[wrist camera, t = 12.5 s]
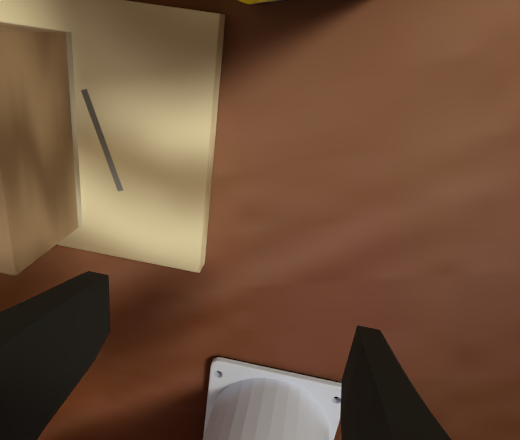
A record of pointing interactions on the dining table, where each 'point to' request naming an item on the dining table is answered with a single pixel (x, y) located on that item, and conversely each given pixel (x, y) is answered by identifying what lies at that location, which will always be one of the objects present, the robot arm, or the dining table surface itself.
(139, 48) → the birch board
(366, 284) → the dining table surface
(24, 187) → the block
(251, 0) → the supplement box
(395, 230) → the dining table surface
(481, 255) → the dining table surface
